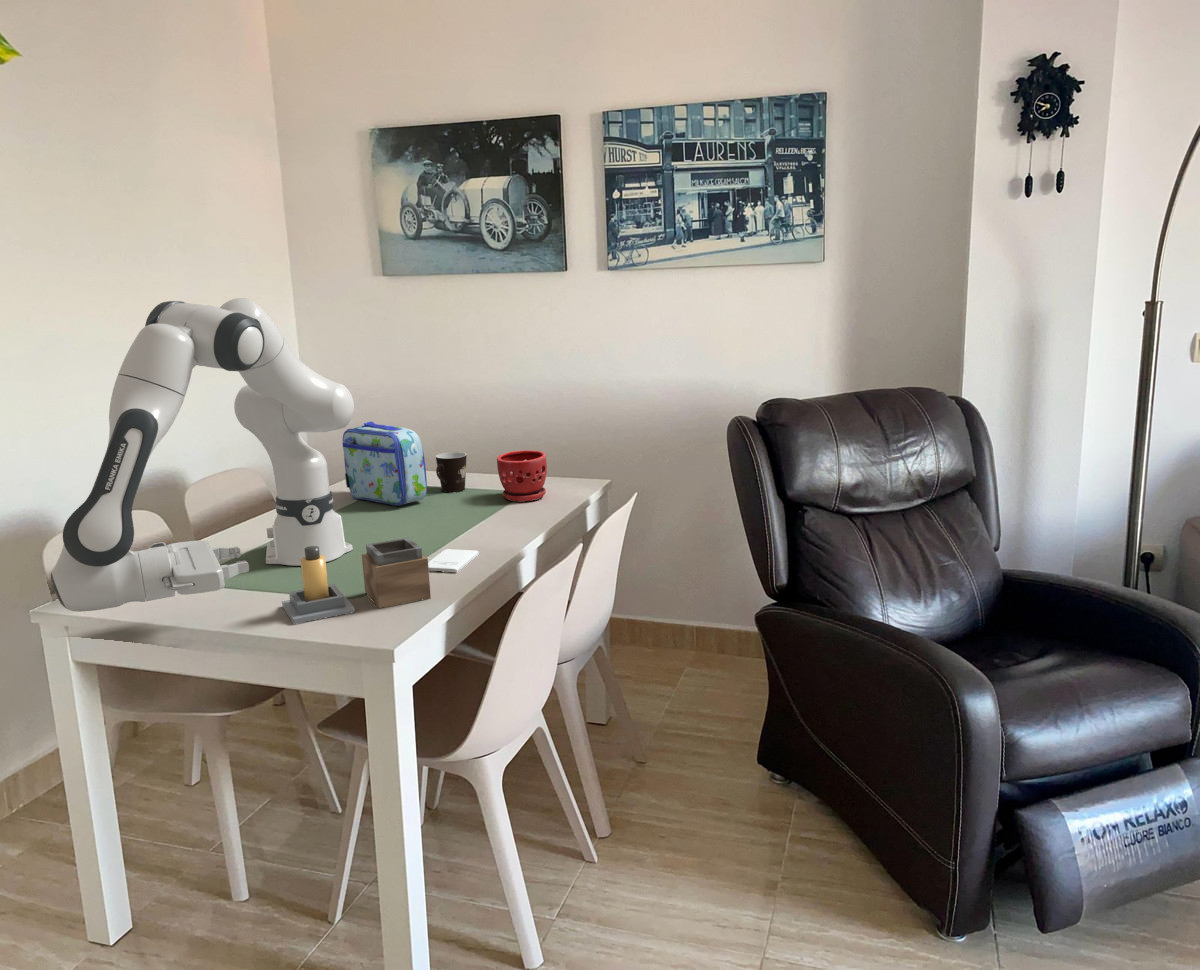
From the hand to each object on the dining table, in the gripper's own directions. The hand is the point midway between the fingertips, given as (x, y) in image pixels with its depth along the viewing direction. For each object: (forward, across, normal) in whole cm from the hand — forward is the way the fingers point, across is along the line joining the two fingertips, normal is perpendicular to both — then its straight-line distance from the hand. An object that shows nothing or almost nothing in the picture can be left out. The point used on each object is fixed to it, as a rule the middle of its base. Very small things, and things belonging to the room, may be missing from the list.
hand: (244, 558), depth 173 cm
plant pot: (+79, +56, +14) cm, 97 cm away
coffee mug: (+65, +76, +14) cm, 100 cm away
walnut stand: (+27, -2, +12) cm, 29 cm away
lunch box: (+47, +76, +14) cm, 90 cm away
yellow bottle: (+12, 0, +11) cm, 16 cm away
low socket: (+12, 0, +12) cm, 17 cm away
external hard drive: (+43, +13, +14) cm, 46 cm away
